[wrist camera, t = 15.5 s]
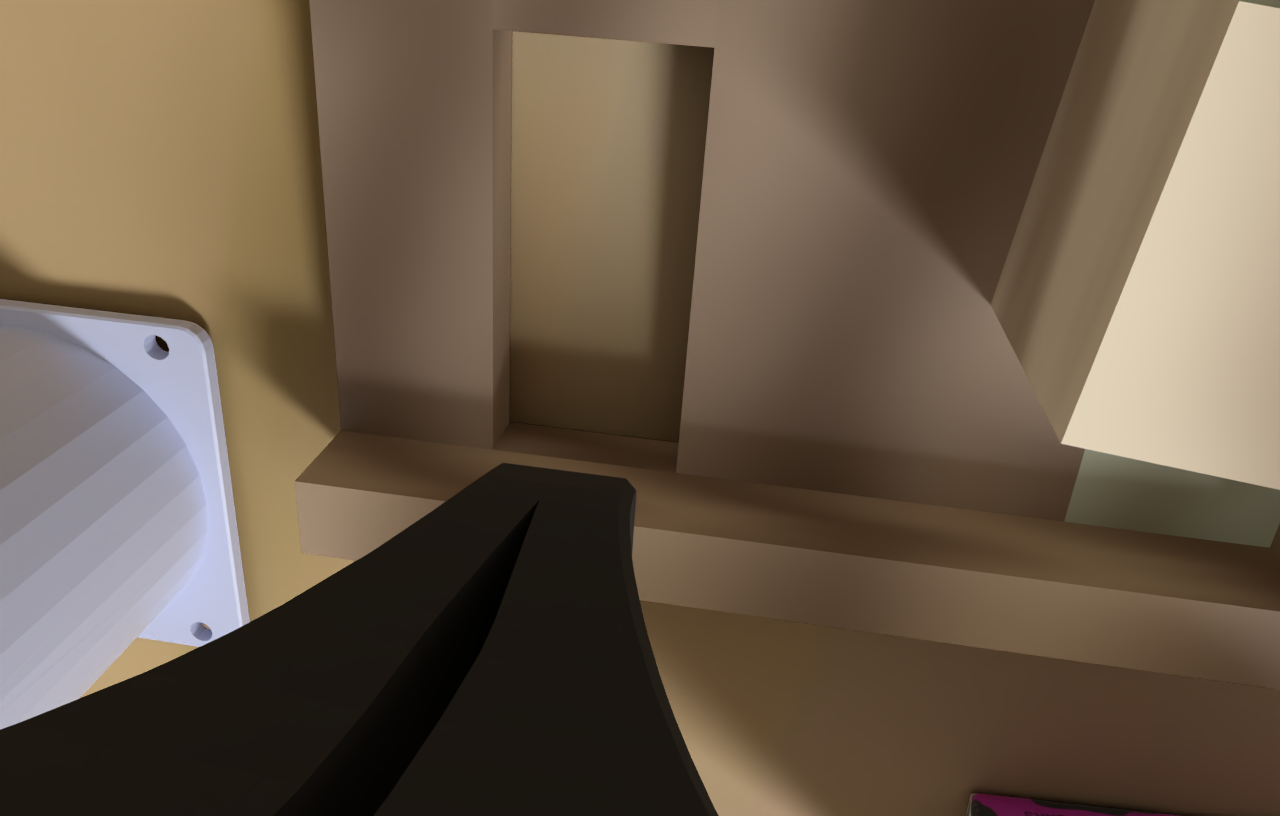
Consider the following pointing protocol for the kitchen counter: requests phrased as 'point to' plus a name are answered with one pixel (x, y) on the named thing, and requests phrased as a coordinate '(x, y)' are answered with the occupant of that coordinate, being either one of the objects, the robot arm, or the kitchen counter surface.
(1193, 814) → the kitchen counter surface
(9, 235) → the kitchen counter surface
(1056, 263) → the block
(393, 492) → the board
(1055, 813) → the candy bar box
